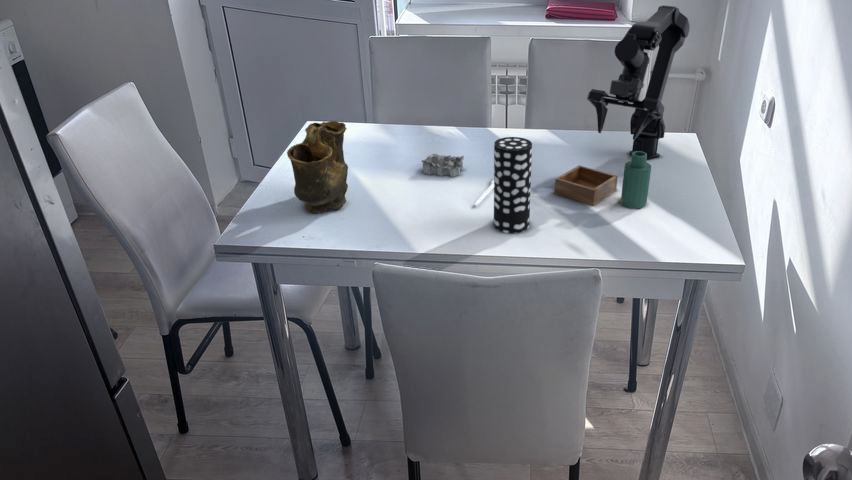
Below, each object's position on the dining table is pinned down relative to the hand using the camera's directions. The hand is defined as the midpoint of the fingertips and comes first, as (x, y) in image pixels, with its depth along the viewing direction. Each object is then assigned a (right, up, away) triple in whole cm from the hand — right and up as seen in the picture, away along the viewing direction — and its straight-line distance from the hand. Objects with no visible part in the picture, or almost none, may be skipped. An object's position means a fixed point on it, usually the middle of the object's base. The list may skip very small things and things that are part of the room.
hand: (616, 136), depth 176 cm
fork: (-32, -14, +4) cm, 35 cm away
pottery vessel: (-72, -17, -3) cm, 74 cm away
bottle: (+4, -17, -1) cm, 17 cm away
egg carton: (-45, -7, +15) cm, 48 cm away
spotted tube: (-27, -24, -12) cm, 37 cm away
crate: (-7, -13, +4) cm, 16 cm away
